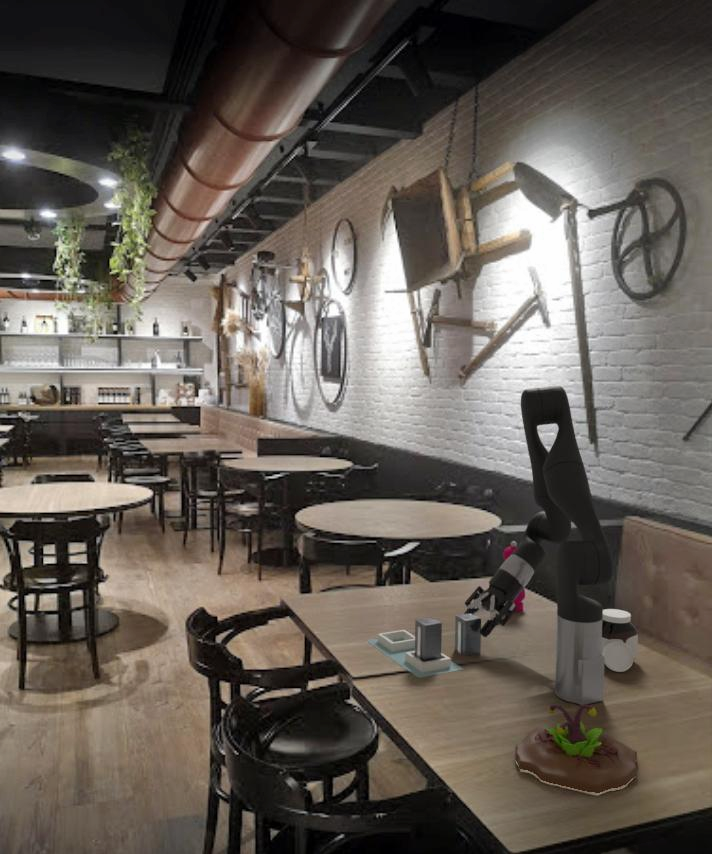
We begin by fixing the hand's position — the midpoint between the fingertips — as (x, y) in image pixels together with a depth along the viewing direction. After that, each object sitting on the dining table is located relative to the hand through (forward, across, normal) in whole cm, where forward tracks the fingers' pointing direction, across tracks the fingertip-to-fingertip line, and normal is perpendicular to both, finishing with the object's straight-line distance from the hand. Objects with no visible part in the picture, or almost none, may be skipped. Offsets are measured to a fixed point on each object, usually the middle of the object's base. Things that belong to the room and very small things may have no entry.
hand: (472, 629), depth 183 cm
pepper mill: (-18, -27, +28) cm, 43 cm away
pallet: (+15, -4, -5) cm, 16 cm away
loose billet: (+6, 0, +4) cm, 7 cm away
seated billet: (+14, +3, -6) cm, 15 cm away
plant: (+14, +50, -4) cm, 52 cm away
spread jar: (-16, +18, +25) cm, 35 cm away
